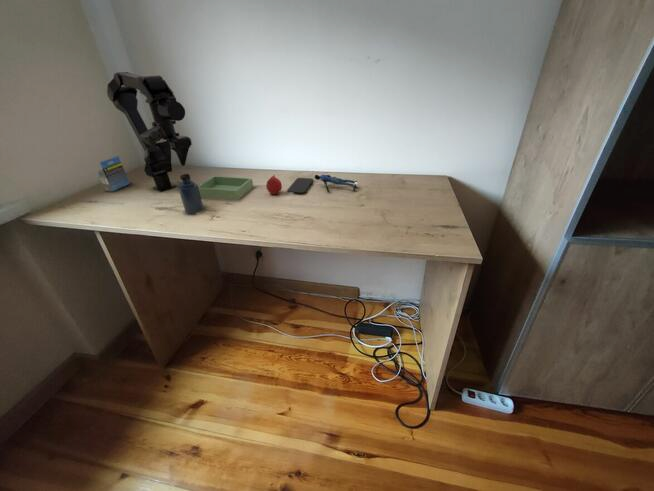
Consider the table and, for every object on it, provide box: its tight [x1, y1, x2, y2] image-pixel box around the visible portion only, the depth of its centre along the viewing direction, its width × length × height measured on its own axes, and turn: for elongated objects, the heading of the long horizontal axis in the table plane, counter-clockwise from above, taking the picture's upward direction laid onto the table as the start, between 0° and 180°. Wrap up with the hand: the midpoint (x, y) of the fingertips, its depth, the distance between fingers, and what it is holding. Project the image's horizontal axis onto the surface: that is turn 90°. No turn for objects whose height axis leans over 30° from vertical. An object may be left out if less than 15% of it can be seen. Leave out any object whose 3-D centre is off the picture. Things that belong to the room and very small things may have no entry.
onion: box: [265, 174, 283, 196], centre depth 113 cm, size 6×6×8 cm
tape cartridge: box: [97, 155, 131, 193], centre depth 122 cm, size 9×4×12 cm, turn 164°
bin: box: [198, 175, 254, 201], centre depth 117 cm, size 17×13×4 cm
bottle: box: [177, 173, 205, 216], centre depth 102 cm, size 6×6×13 cm
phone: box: [286, 177, 314, 195], centre depth 122 cm, size 7×1×15 cm
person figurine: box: [314, 174, 359, 193], centre depth 119 cm, size 11×4×18 cm
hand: (176, 163), depth 109 cm, fingers open, 9 cm apart
